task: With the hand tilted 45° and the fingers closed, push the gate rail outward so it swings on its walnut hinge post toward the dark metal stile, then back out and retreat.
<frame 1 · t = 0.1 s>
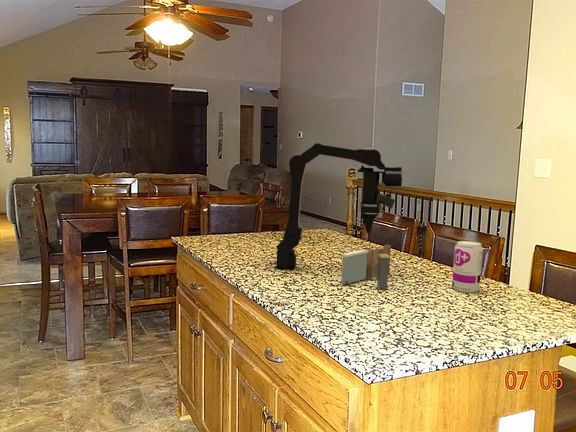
hand: (368, 231, 186), 15 cm above the worktop, tool pointing down, fingers open, 9 cm apart
onion: (375, 270, 193), on the worktop
gate: (354, 267, 172), point 5 cm above the worktop, hinge at 0.0°
fence: (367, 278, 179), on the worktop
supplement can: (465, 290, 169), on the worktop
stile: (381, 288, 167), on the worktop
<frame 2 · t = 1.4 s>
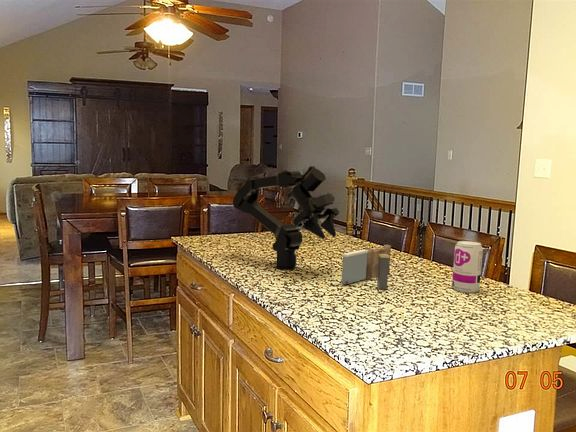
hand: (329, 237, 177), 14 cm above the worktop, tool tilted 45°, fingers open, 6 cm apart
nothing on the worktop moved.
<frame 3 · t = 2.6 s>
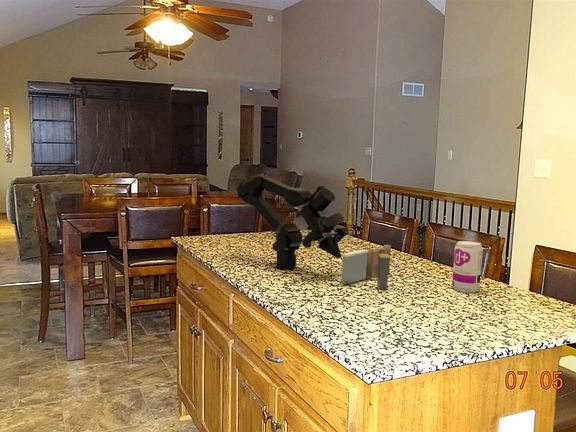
hand: (339, 257, 174), 7 cm above the worktop, tool tilted 45°, fingers closed
nothing on the worktop moved.
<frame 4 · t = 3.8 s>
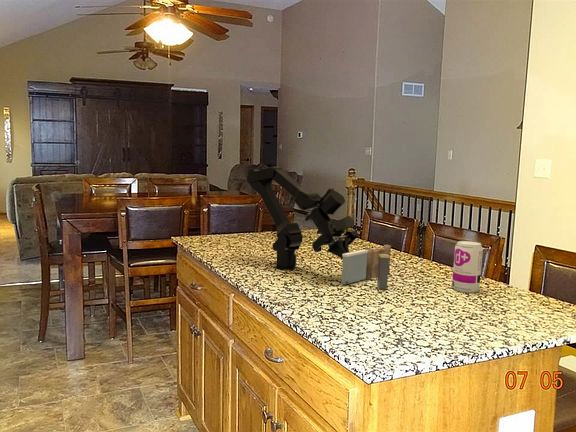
hand: (350, 261, 172), 7 cm above the worktop, tool tilted 45°, fingers closed, pressing on gate
gate: (354, 267, 172), point 5 cm above the worktop, hinge at 0.1°, touching gripper
everything else where it was.
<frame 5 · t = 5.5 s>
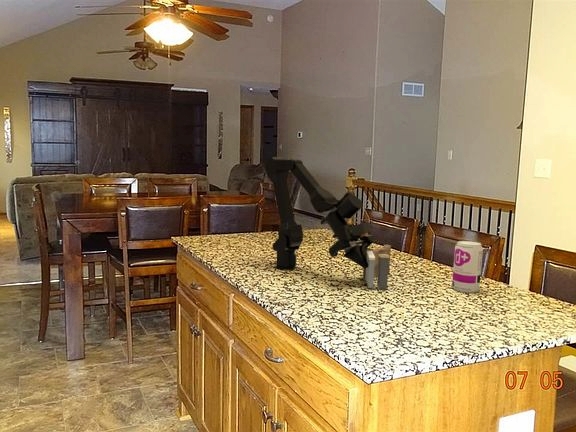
hand: (366, 267, 168), 6 cm above the worktop, tool tilted 45°, fingers closed
gate: (369, 269, 170), point 5 cm above the worktop, hinge at 37.6°, touching gripper
everything else where it was.
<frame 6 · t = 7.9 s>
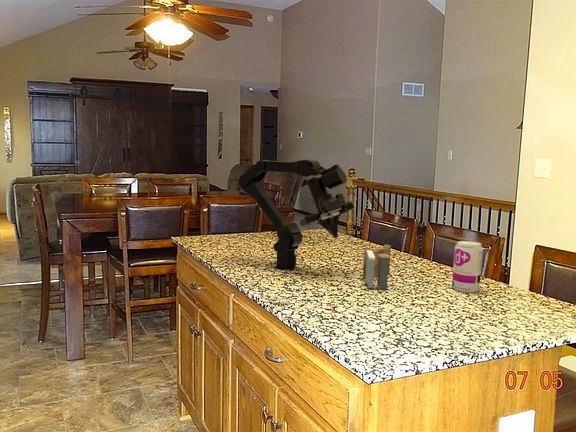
hand: (336, 237, 180), 13 cm above the worktop, tool tilted 25°, fingers closed
gate: (369, 269, 170), point 5 cm above the worktop, hinge at 37.6°
everything else where it was.
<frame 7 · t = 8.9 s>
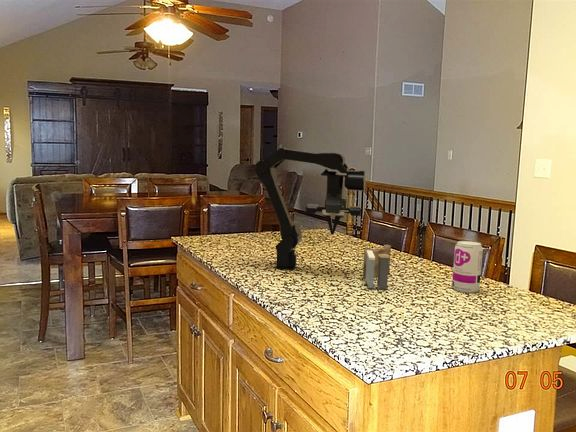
hand: (332, 234, 185), 13 cm above the worktop, tool pointing down, fingers closed
nothing on the worktop moved.
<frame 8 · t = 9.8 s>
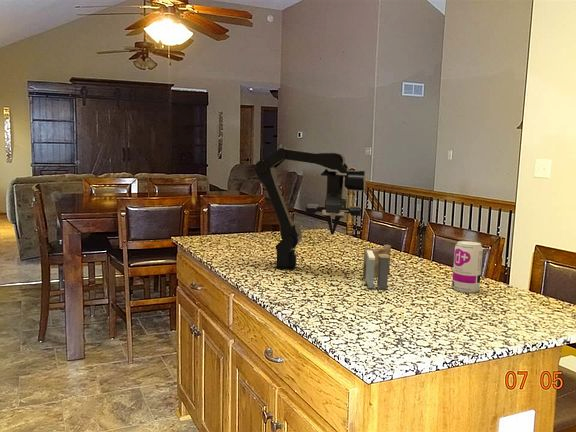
hand: (332, 234, 185), 13 cm above the worktop, tool pointing down, fingers closed
nothing on the worktop moved.
at the end: gate at +38° (first picture: +0°) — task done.
